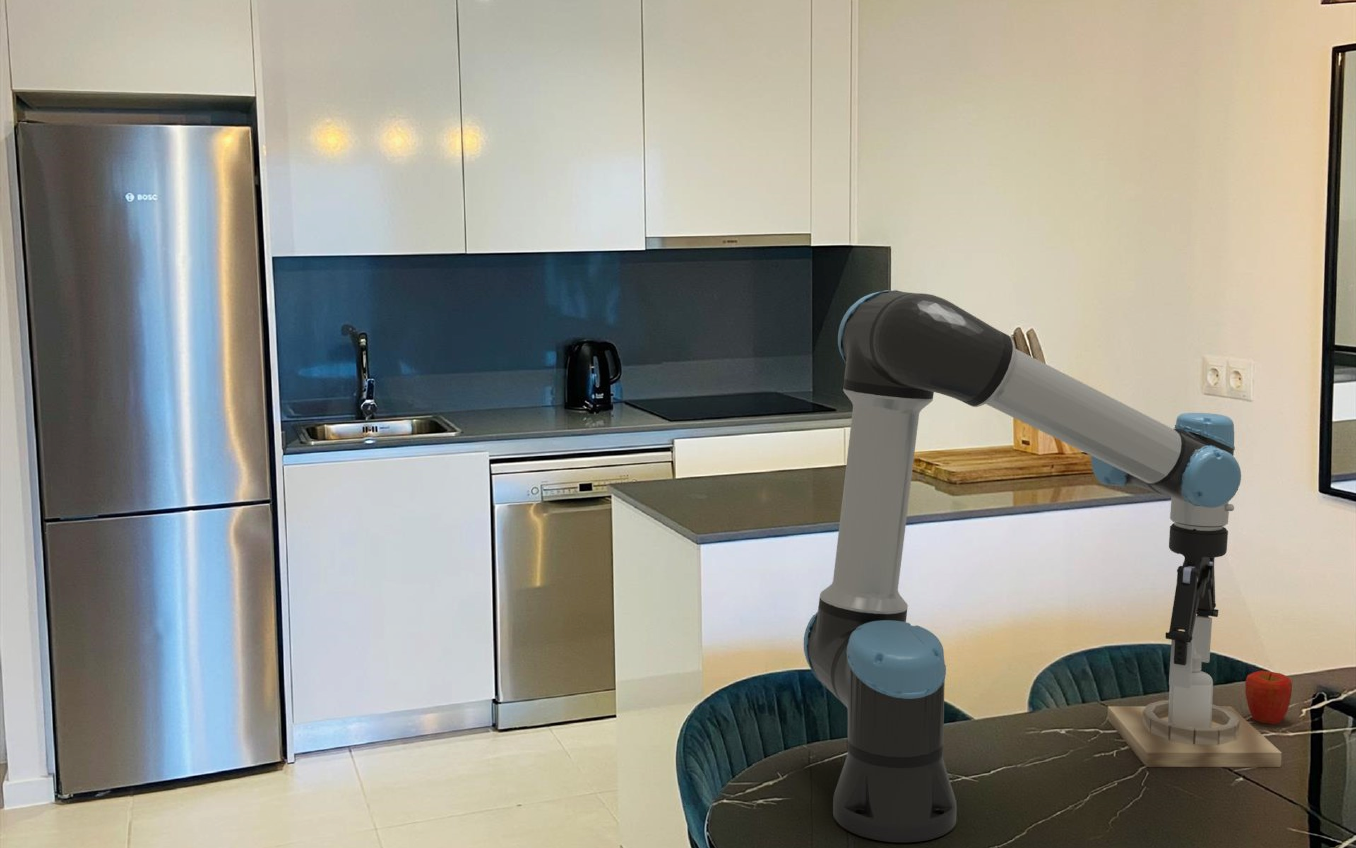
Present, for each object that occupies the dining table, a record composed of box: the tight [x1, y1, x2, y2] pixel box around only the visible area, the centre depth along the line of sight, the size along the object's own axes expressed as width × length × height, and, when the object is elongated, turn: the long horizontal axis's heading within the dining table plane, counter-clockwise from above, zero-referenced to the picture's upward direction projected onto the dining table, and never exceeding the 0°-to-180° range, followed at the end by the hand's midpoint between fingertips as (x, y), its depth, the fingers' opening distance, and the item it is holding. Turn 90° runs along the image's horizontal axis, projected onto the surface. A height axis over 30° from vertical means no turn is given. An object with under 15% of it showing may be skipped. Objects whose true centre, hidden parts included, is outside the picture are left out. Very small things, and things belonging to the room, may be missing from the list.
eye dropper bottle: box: [1168, 646, 1214, 728], centre depth 186 cm, size 4×6×12 cm
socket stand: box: [1106, 699, 1283, 768], centre depth 187 cm, size 18×18×4 cm
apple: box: [1244, 670, 1293, 725], centre depth 194 cm, size 6×6×8 cm
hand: (1189, 673), depth 185 cm, fingers open, 13 cm apart
